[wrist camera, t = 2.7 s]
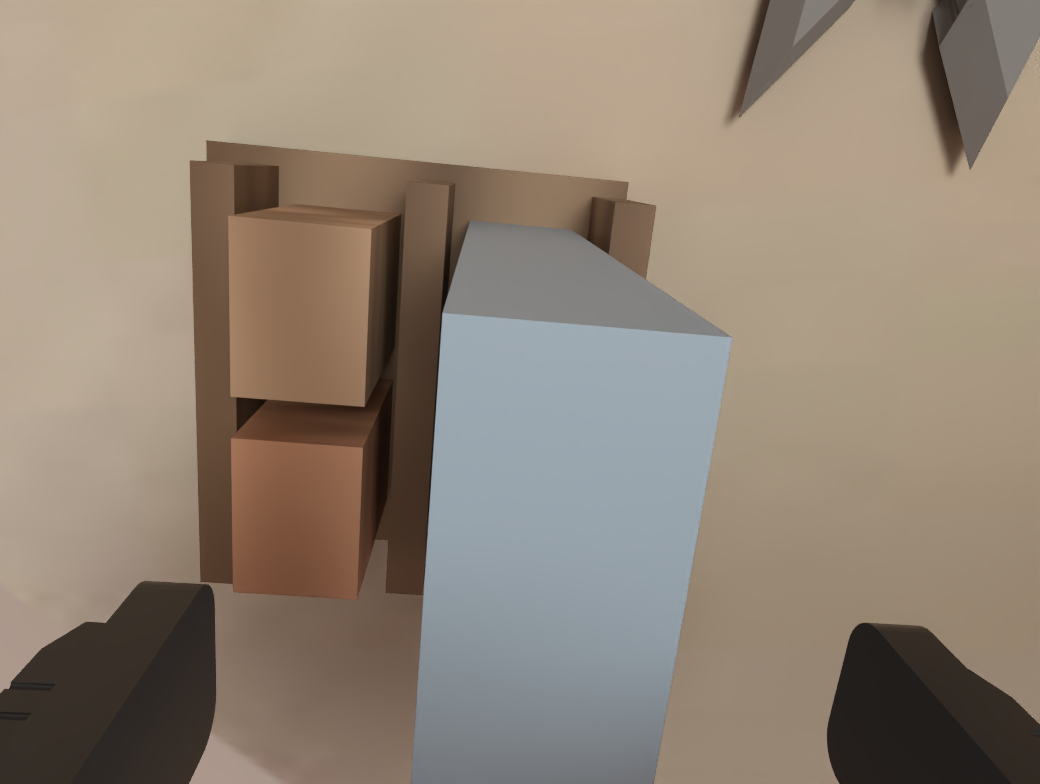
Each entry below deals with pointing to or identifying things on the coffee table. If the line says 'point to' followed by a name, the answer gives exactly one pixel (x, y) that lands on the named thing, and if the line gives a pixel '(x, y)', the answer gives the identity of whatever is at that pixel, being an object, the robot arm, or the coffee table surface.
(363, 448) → the offcut
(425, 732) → the tall board
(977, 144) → the decorative piece
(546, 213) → the rack
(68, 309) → the coffee table surface
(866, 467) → the coffee table surface
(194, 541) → the coffee table surface
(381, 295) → the offcut
